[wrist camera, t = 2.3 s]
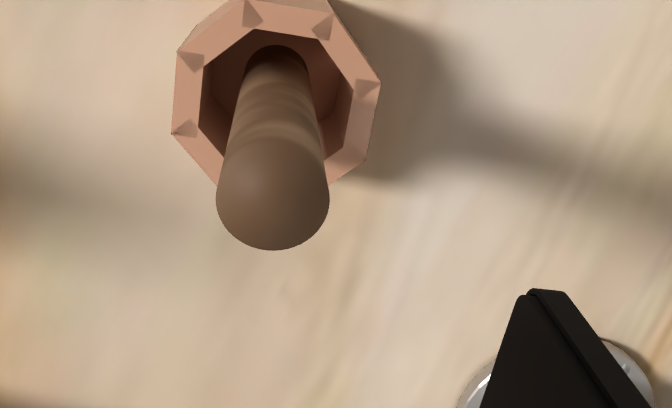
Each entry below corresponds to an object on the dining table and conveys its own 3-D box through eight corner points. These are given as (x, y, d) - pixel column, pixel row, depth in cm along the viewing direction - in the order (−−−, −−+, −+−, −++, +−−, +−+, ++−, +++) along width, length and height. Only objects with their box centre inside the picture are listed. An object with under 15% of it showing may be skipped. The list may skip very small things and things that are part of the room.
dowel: (313, 50, 29) (338, 155, 16) (303, 113, 30) (319, 256, 18) (247, 39, 29) (221, 139, 16) (240, 103, 30) (210, 243, 17)
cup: (373, 2, 29) (393, 23, 24) (343, 161, 32) (355, 211, 27) (200, -28, 28) (181, -13, 23) (186, 139, 31) (166, 187, 26)
